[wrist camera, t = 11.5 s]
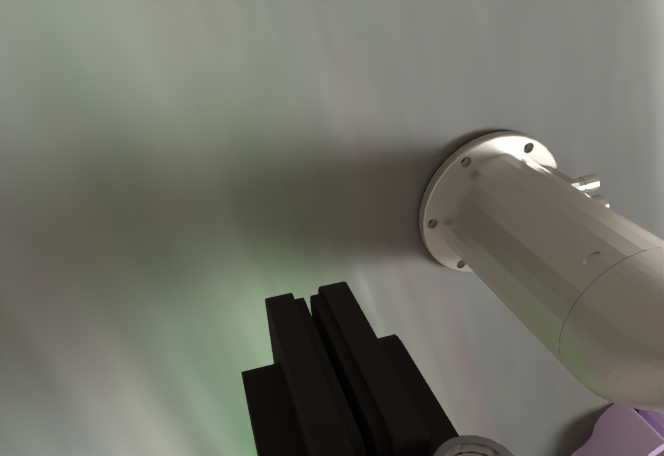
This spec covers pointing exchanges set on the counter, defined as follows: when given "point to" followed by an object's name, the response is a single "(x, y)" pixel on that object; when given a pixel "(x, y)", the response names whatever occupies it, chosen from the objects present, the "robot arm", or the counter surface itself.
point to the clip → (625, 433)
